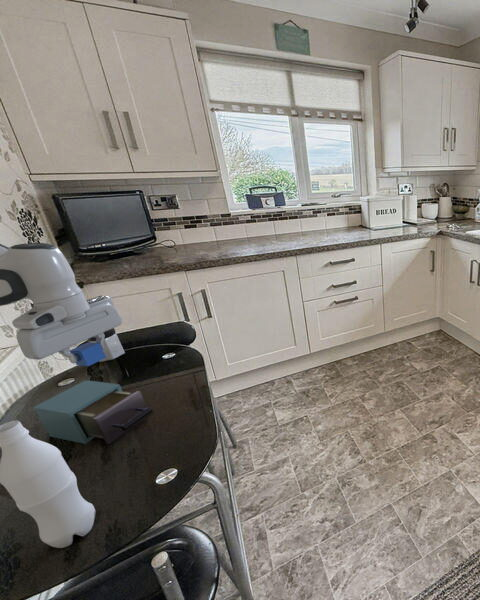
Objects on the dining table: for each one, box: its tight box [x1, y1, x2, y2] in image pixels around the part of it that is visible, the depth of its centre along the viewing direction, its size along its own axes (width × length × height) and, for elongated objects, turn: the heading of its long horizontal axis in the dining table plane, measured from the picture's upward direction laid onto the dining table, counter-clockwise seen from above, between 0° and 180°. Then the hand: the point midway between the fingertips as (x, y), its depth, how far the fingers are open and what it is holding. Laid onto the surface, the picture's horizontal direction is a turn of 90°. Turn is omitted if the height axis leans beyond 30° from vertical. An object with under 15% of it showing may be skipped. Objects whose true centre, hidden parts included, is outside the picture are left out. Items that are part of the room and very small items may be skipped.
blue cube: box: [69, 341, 106, 367], centre depth 86 cm, size 4×4×4 cm
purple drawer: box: [74, 390, 153, 445], centre depth 85 cm, size 18×11×8 cm, turn 74°
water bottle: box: [0, 420, 96, 549], centre depth 56 cm, size 7×7×25 cm
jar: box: [87, 328, 126, 363], centre depth 125 cm, size 9×8×12 cm
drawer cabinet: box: [32, 379, 124, 445], centre depth 89 cm, size 14×12×10 cm
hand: (88, 355), depth 86 cm, fingers closed on blue cube, 4 cm apart
